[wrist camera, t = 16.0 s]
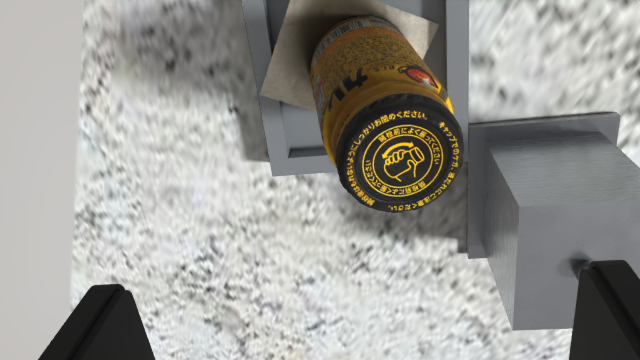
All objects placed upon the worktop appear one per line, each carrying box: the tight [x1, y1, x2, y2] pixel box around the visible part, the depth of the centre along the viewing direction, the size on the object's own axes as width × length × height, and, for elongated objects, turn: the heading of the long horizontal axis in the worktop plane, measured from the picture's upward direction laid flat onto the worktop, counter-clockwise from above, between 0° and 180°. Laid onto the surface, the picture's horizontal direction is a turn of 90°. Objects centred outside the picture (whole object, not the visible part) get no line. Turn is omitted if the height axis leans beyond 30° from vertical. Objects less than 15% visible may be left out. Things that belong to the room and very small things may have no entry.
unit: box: [467, 112, 640, 330], centre depth 31 cm, size 10×9×10 cm
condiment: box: [260, 0, 464, 213], centre depth 26 cm, size 7×8×12 cm
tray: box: [241, 0, 469, 176], centre depth 32 cm, size 13×12×2 cm
